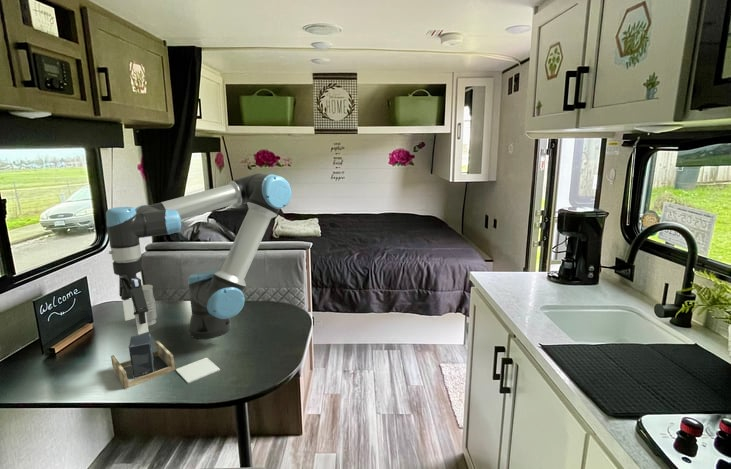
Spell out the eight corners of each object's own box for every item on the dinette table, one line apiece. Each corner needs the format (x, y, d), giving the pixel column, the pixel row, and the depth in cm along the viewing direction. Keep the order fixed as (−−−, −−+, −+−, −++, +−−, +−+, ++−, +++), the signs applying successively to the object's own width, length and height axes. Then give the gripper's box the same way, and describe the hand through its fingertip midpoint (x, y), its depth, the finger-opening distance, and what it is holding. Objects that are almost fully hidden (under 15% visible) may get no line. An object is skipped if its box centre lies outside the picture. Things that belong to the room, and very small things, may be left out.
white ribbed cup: (161, 321, 161) (156, 286, 158) (144, 328, 156) (139, 292, 152) (151, 317, 165) (147, 283, 162) (134, 324, 159) (129, 288, 156)
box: (153, 374, 124) (149, 343, 122) (133, 378, 122) (128, 347, 120) (154, 362, 131) (150, 332, 129) (134, 366, 129) (130, 336, 127)
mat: (175, 370, 126) (175, 369, 126) (206, 358, 133) (206, 357, 133) (187, 383, 119) (187, 382, 119) (220, 370, 126) (220, 369, 126)
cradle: (113, 370, 127) (110, 355, 126) (160, 353, 136) (158, 340, 135) (125, 388, 117) (123, 373, 116) (175, 369, 126) (173, 355, 125)
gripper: (102, 254, 125) (112, 317, 129) (124, 271, 107) (134, 343, 112) (129, 249, 130) (137, 310, 134) (154, 265, 112) (163, 334, 117)
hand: (136, 325), depth 123 cm, fingers open, 13 cm apart
